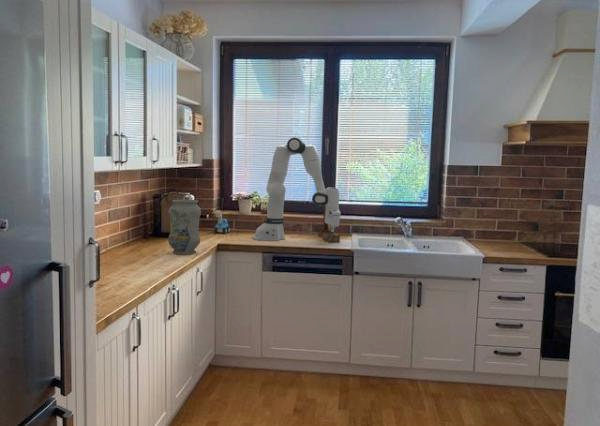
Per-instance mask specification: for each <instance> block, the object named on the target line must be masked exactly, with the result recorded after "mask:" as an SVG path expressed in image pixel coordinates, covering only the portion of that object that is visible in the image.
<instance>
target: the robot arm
mask: <svg viewBox="0 0 600 426" xmlns="http://www.w3.org/2000/svg"><path fill="white" fill-rule="evenodd" d="M292 155H300V156H301V158H302V161H303V166H304V169H305V171H306V173H307V174H308V175H309V176H310V177H311V178H312V180H313V182H314V186H315V190H316V192H315V193H313V195H312V196H311V197H312V198H311V201H312V203H313V204H314V205H315V206H318V207H320V206H322V207H323V206H325V205H326V214H325V223H327V224H328V227H330V225H331V227H332V228H331V232H334V233H335V229H336V227H339V226H340V222H341V221H340V220H341V217H340V216H341V215H342V214H341V213H342V212H341V211H340V208H339V207H340V206H339V203H340V191H339V189H338V188H336V187H332V186H328V187H326V186H325V182H324V179H323V174H322V167H321V166H322V165H321V160H320V156H319V153H318V150H317V148H316V146H315V145H313V144H305V143H304V141H303V140H302V139H301V138H299V137H296V136H293V137H290V138H289V139H288V141H287V143H286V145H283V144H280V145H278V146H276V147H275V150H274V153H273V157H272V160H271V161H272V162H271V169H270V174H269V177H268V180H267V184H266V193H267V194H268V201H267V211H266V217H262V221H263V223H262V224H261V225H260V226H258V227H257V228H256V230H255V234H254V235H252V236H251V239H253V240H256V241H281V240H284V239H285V238H286V237H285V233H284V232H285V231H284V225H285V219H284V206H285V205H284V204H285V199H286V186H285V185H284V184H285V180H286V177H287V174H288V169H289V163H290V159H291V156H292Z"/></svg>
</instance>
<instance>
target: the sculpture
mask: <svg viewBox="0 0 600 426" xmlns="http://www.w3.org/2000/svg"><path fill="white" fill-rule="evenodd" d="M322 209H323V219H322V221H323V222H322V223H323V229H322V230H320V231H318V232H317V236H319V237H321V238H323V233H329V227H328V224H327V223H325V214H326V205H323V206H322Z"/></svg>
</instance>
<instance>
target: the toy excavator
mask: <svg viewBox="0 0 600 426" xmlns="http://www.w3.org/2000/svg"><path fill="white" fill-rule="evenodd" d="M214 215H215V218H217V224H215V227H214V233H215V234H218V233H222V234H227V233H230V232H231V228H230V226H229V224H228V220H227V219H226V218H223V214H222V210H219V209H218V210H216V211H215V214H214Z"/></svg>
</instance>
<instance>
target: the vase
mask: <svg viewBox="0 0 600 426" xmlns="http://www.w3.org/2000/svg"><path fill="white" fill-rule="evenodd" d="M171 202H172V205H171V206H169V207H168V209H167V210H168V215H169V220H170V221H169V223H170V224H169V225H170V231H169V235H168V240H167V241H168V244H169V246H170V247H171V248H172V249H173V251H172V253H173V254H174V255H182V256H183V255H184V256H185V255H194V254H196V252H197V251H196V250H195V249H196V248H198V246H199V245H200V243H201V235H200V234H199V233H200V231H199V229H200V228H199V227H200V226H199V225H200V217H201V214H202V209H201V207H200V206H199V205H198V203H199V200H198V199H173V200H172V201H171Z"/></svg>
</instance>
